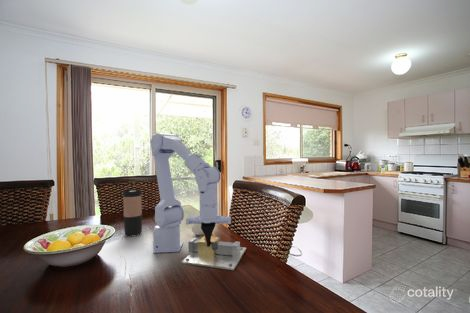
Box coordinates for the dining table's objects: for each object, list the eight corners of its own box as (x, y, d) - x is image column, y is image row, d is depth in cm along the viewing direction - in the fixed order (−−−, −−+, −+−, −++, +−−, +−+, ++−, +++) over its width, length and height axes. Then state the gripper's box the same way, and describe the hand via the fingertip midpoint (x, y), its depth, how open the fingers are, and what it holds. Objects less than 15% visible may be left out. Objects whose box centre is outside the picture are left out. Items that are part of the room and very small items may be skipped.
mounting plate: (181, 263, 75) (181, 260, 75) (201, 244, 90) (201, 242, 90) (233, 270, 70) (233, 267, 70) (246, 249, 85) (246, 246, 85)
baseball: (205, 237, 98) (205, 222, 98) (189, 237, 99) (189, 221, 99) (210, 232, 104) (209, 218, 104) (195, 231, 106) (194, 217, 106)
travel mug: (120, 235, 103) (119, 191, 103) (133, 230, 110) (132, 188, 110) (133, 237, 100) (132, 192, 100) (145, 232, 107) (145, 189, 107)
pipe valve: (187, 253, 81) (187, 240, 81) (194, 247, 87) (194, 235, 87) (236, 258, 76) (236, 245, 76) (240, 251, 82) (240, 239, 82)
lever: (203, 237, 83) (203, 232, 83) (212, 236, 84) (211, 231, 84) (210, 250, 71) (210, 244, 71) (220, 249, 72) (220, 243, 72)
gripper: (183, 207, 71) (184, 250, 71) (230, 206, 70) (230, 250, 71) (188, 202, 78) (188, 242, 78) (230, 201, 78) (231, 241, 78)
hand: (209, 245), depth 75 cm, fingers closed, pressing on lever
